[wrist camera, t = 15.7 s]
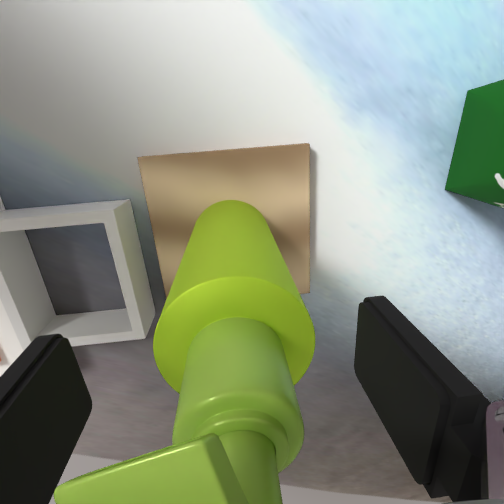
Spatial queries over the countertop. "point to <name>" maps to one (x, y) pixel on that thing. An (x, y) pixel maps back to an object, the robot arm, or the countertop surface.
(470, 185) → the milk carton
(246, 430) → the soap dispenser
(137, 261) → the white holder tray
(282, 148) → the oak board
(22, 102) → the countertop surface
